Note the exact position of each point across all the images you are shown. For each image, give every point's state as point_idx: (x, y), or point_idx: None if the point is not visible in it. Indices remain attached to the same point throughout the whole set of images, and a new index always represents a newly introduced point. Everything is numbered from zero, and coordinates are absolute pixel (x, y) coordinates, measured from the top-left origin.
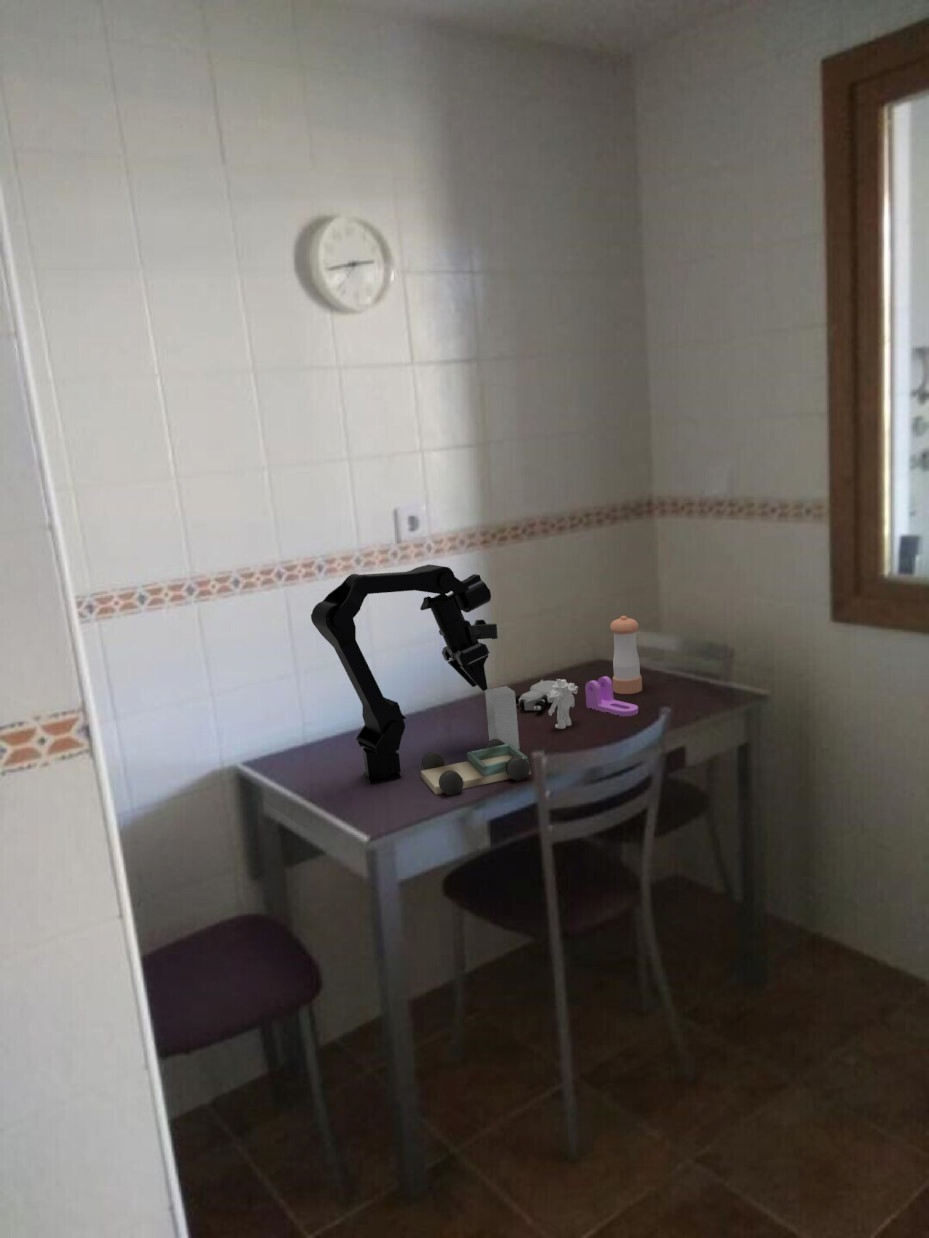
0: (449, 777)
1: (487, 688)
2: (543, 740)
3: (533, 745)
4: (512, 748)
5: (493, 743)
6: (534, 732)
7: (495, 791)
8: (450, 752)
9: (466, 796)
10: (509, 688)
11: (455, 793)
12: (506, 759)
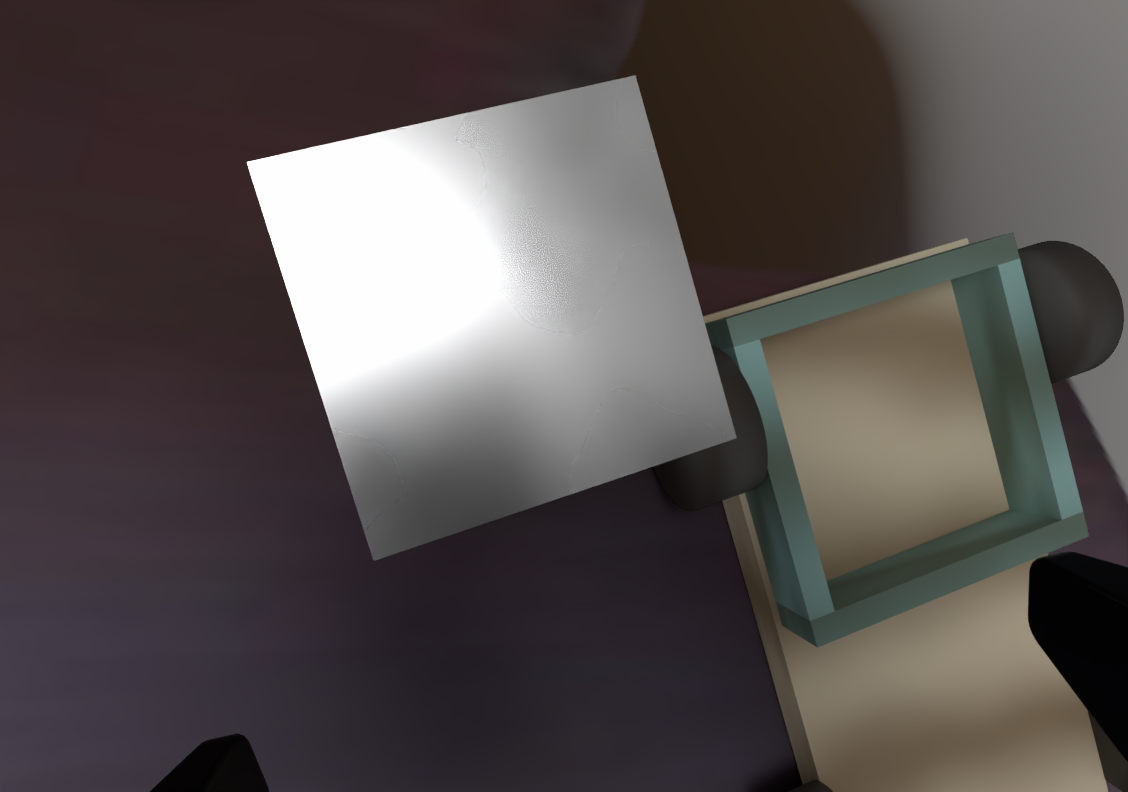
0: None
1: (1072, 552)
2: (369, 55)
3: None
4: (828, 315)
5: (765, 451)
6: (153, 84)
7: (1100, 462)
8: (436, 751)
9: None
10: (426, 132)
11: None
12: (813, 369)
